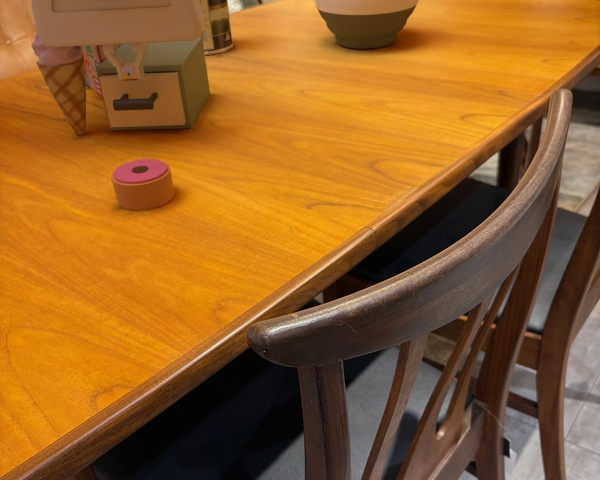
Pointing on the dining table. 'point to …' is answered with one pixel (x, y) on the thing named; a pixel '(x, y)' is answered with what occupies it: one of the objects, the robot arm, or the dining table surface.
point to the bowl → (365, 20)
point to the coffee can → (216, 27)
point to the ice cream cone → (65, 80)
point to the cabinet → (171, 57)
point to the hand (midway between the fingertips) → (132, 79)
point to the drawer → (143, 100)
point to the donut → (143, 184)
